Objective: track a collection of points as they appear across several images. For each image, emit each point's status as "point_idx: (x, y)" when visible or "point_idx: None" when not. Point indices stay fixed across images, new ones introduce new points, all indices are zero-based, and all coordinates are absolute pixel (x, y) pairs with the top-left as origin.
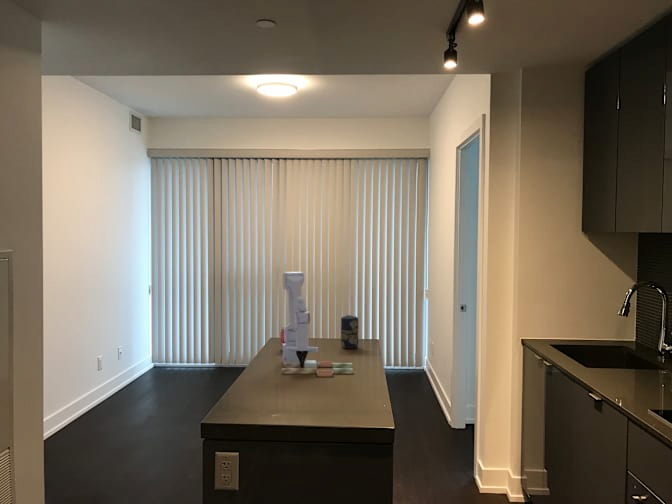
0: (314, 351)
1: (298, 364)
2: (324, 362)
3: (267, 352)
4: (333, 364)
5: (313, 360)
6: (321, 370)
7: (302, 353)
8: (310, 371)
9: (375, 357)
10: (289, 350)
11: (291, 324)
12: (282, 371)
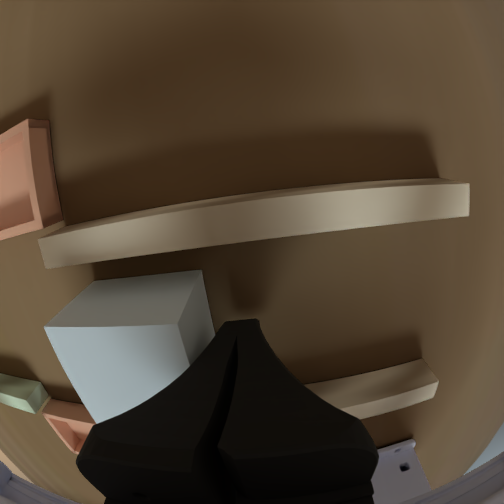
0: (22, 481)
1: None
2: None
3: None
4: (26, 396)
5: None
6: (14, 232)
7: (178, 469)
8: (113, 220)
9: (18, 467)
10: (501, 473)
11: None
12: (446, 179)
